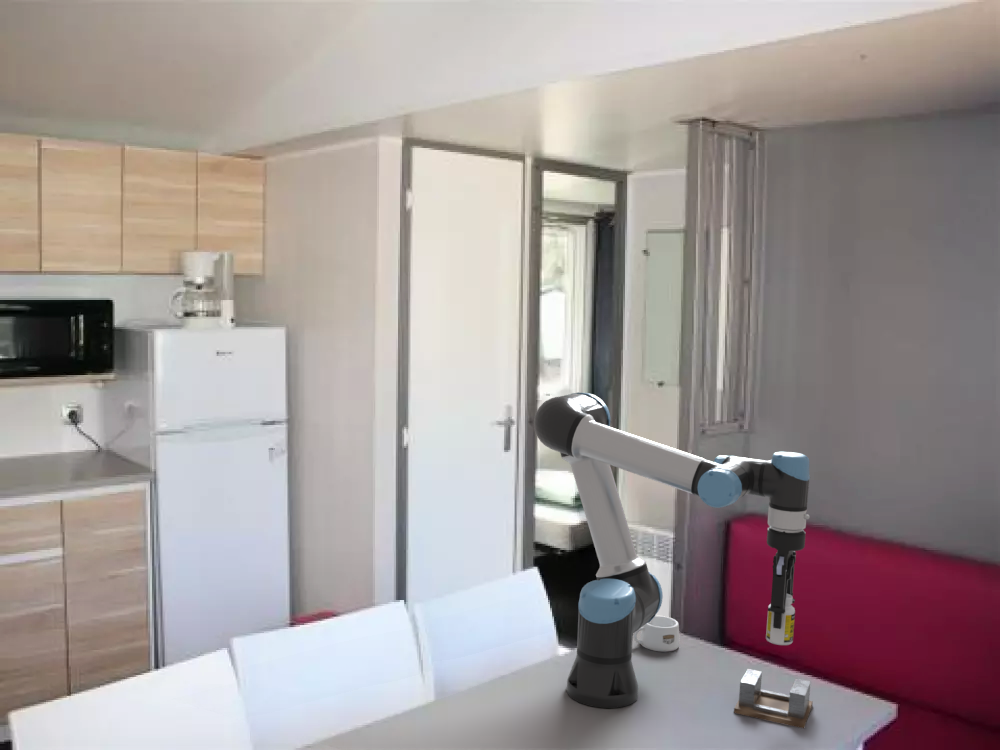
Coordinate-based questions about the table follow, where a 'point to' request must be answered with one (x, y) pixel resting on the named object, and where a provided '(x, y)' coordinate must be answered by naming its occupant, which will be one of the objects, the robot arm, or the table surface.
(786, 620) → the supplement bottle
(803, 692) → the grey rectangular frame
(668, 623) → the mug
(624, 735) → the table surface
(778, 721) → the mount board
